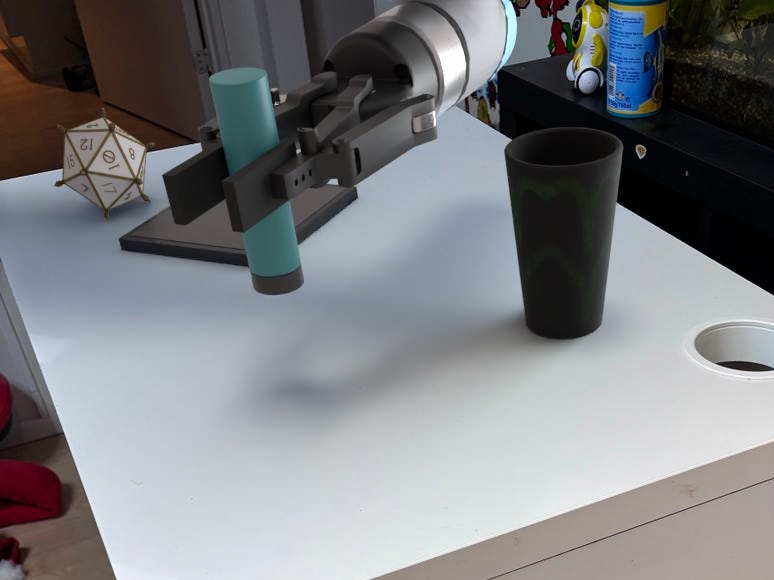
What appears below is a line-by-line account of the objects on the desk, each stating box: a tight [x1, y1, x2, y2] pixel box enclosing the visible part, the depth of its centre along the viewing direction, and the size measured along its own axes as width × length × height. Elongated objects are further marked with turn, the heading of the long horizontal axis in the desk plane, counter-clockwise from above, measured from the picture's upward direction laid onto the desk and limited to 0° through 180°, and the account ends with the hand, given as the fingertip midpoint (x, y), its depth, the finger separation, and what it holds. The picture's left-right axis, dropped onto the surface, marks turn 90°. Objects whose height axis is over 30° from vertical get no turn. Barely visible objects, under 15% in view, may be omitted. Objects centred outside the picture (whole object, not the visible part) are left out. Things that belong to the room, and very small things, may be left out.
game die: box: [53, 106, 156, 222], centre depth 93 cm, size 9×8×10 cm
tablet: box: [117, 183, 359, 267], centre depth 91 cm, size 15×16×1 cm
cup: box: [503, 126, 624, 340], centre depth 70 cm, size 8×8×12 cm
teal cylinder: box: [208, 66, 305, 296], centre depth 60 cm, size 3×3×12 cm
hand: (203, 203), depth 56 cm, fingers closed on teal cylinder, 3 cm apart
